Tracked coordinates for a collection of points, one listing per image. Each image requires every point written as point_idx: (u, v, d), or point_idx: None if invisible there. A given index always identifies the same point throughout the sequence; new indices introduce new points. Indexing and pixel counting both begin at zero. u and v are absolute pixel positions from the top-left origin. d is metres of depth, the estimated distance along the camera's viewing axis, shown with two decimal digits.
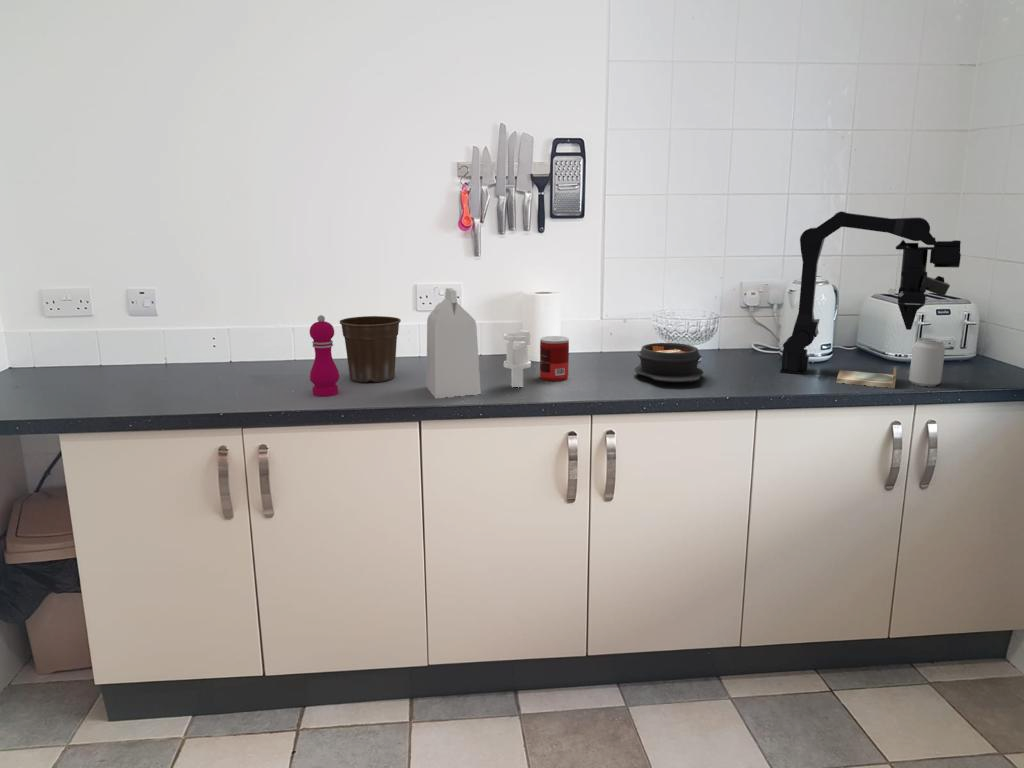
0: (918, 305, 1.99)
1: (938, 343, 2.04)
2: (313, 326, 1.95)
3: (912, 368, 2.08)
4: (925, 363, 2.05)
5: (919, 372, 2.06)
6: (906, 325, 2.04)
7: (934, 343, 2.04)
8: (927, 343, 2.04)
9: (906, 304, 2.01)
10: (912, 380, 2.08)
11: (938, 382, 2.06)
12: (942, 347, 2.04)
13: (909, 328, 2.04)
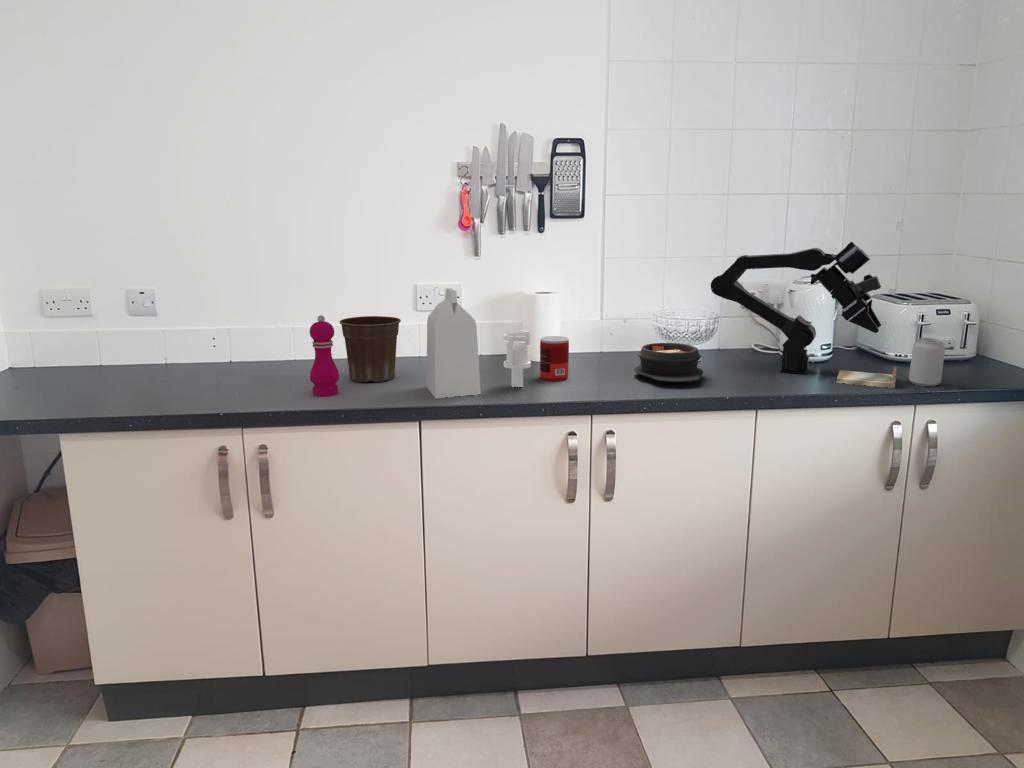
0: (863, 310, 2.05)
1: (938, 343, 2.04)
2: (313, 326, 1.95)
3: (912, 368, 2.08)
4: (925, 363, 2.05)
5: (919, 372, 2.06)
6: (872, 330, 2.08)
7: (934, 343, 2.04)
8: (927, 343, 2.04)
9: (854, 316, 2.06)
10: (912, 380, 2.08)
11: (938, 382, 2.06)
12: (942, 347, 2.04)
13: (877, 330, 2.07)
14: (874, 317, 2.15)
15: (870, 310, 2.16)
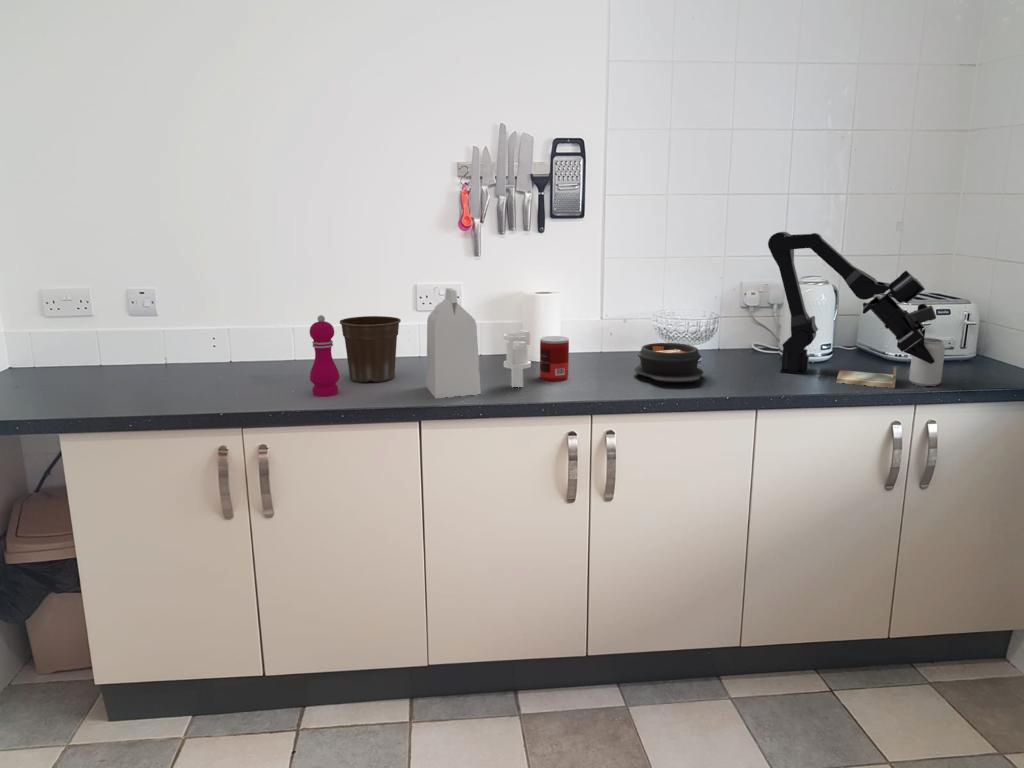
0: (920, 340, 2.01)
1: (938, 343, 2.04)
2: (313, 326, 1.95)
3: (912, 368, 2.08)
4: (925, 363, 2.05)
5: (919, 372, 2.06)
6: (928, 361, 2.04)
7: (934, 343, 2.04)
8: (927, 343, 2.04)
9: (910, 347, 2.02)
10: (912, 380, 2.08)
11: (938, 382, 2.06)
12: (942, 347, 2.04)
13: (932, 361, 2.03)
14: None
15: None
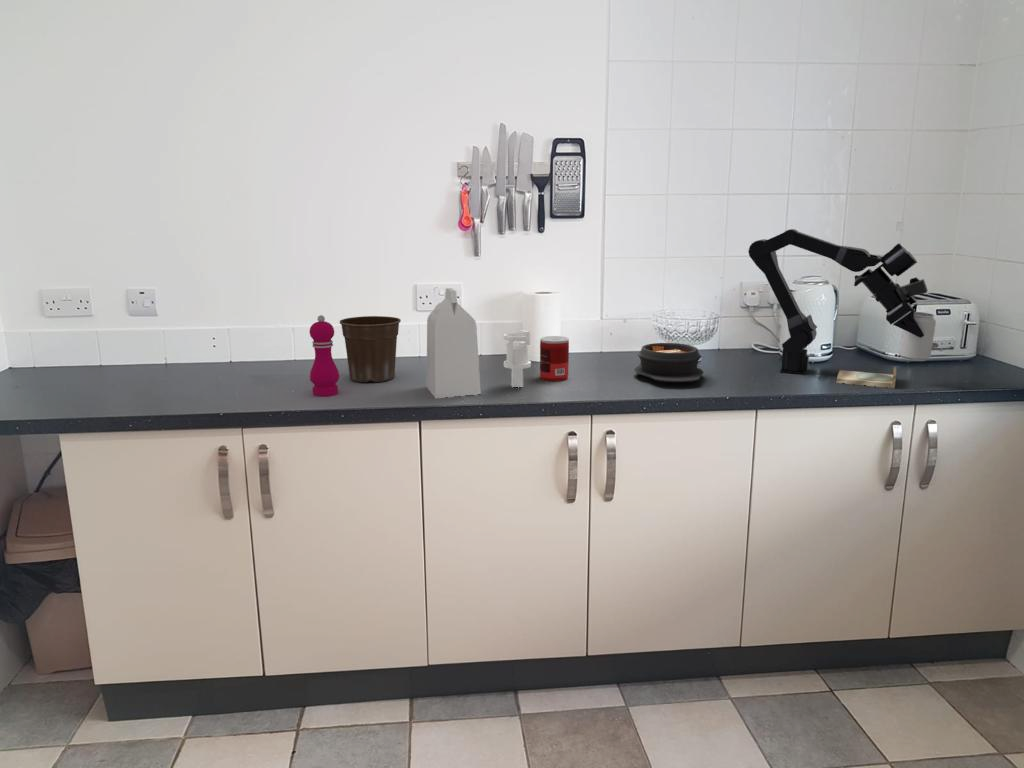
0: (909, 313, 2.00)
1: (928, 317, 2.02)
2: (313, 326, 1.95)
3: (902, 342, 2.07)
4: (914, 337, 2.04)
5: (908, 346, 2.05)
6: (917, 334, 2.03)
7: (924, 317, 2.02)
8: (917, 317, 2.03)
9: (899, 320, 2.01)
10: (901, 354, 2.07)
11: (927, 356, 2.05)
12: (932, 321, 2.03)
13: (922, 335, 2.02)
14: None
15: None
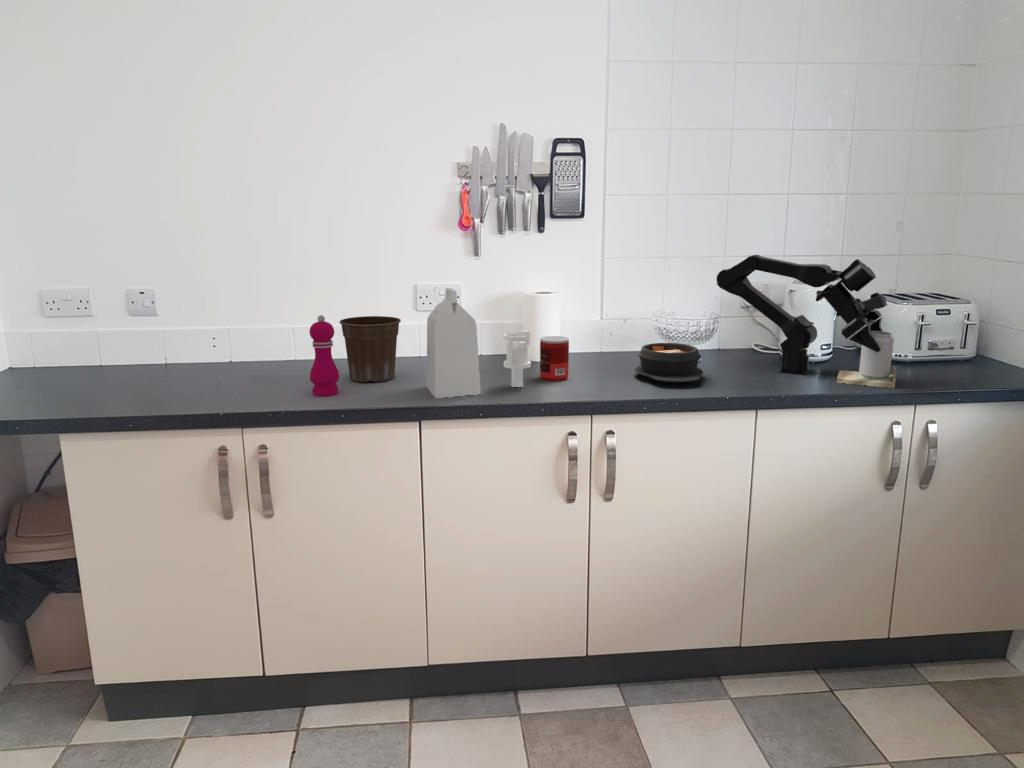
0: (863, 328, 2.03)
1: (885, 336, 2.06)
2: (313, 326, 1.95)
3: (861, 360, 2.11)
4: (871, 355, 2.07)
5: (866, 364, 2.09)
6: (874, 349, 2.05)
7: (880, 336, 2.06)
8: (873, 336, 2.07)
9: (854, 335, 2.05)
10: (860, 372, 2.11)
11: (885, 375, 2.08)
12: (889, 340, 2.06)
13: (878, 349, 2.05)
14: None
15: (878, 328, 2.13)
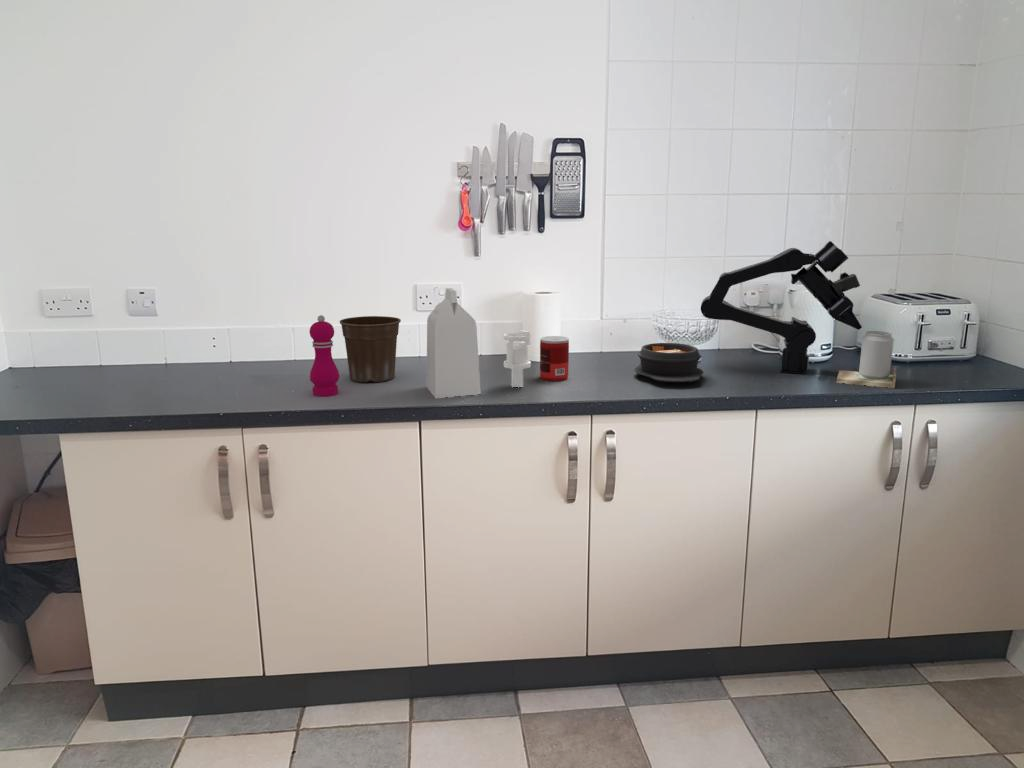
0: (849, 307, 2.09)
1: (884, 336, 2.06)
2: (313, 326, 1.95)
3: (861, 360, 2.11)
4: (871, 355, 2.07)
5: (866, 364, 2.09)
6: (856, 327, 2.12)
7: (880, 336, 2.06)
8: (873, 336, 2.07)
9: (840, 314, 2.10)
10: (860, 372, 2.11)
11: (885, 375, 2.08)
12: (889, 340, 2.06)
13: (860, 327, 2.12)
14: None
15: None
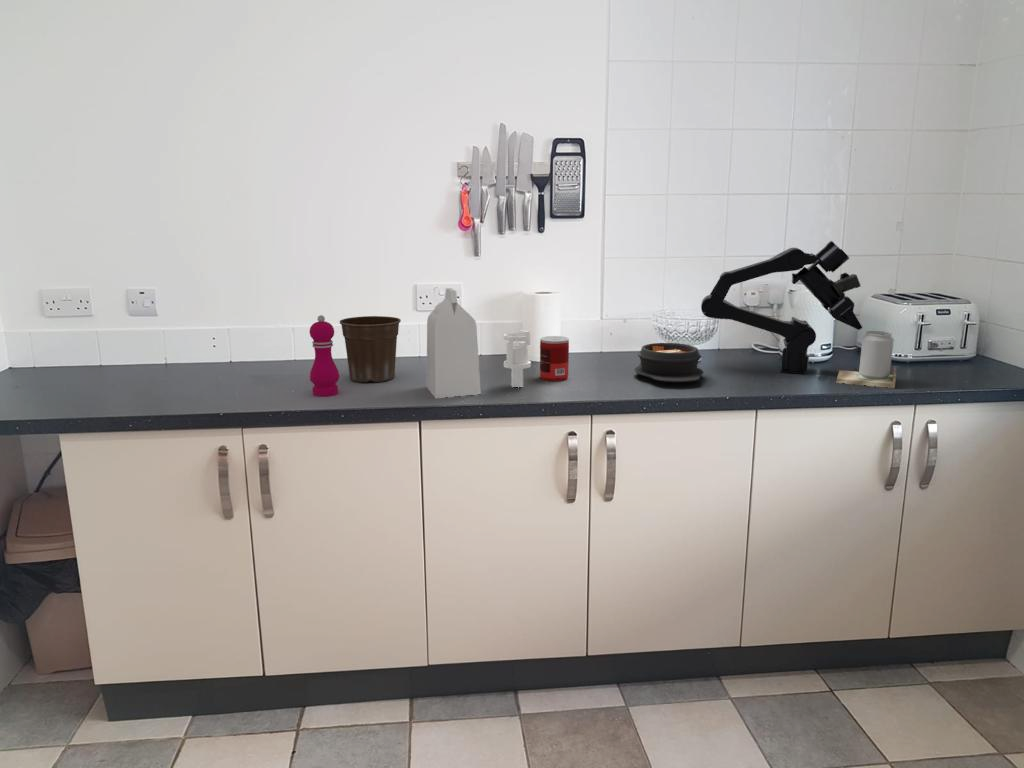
0: (850, 308, 2.09)
1: (884, 336, 2.06)
2: (313, 326, 1.95)
3: (861, 360, 2.11)
4: (871, 355, 2.07)
5: (866, 364, 2.09)
6: (856, 327, 2.12)
7: (880, 336, 2.06)
8: (873, 336, 2.07)
9: (841, 314, 2.10)
10: (860, 372, 2.11)
11: (885, 375, 2.08)
12: (889, 340, 2.06)
13: (860, 327, 2.12)
14: None
15: None
